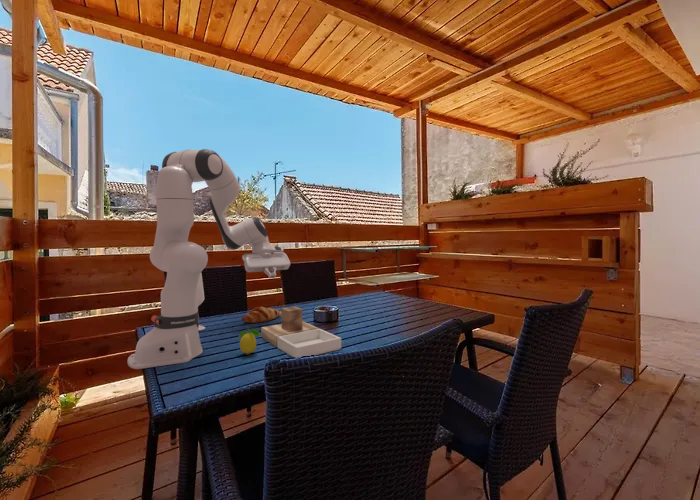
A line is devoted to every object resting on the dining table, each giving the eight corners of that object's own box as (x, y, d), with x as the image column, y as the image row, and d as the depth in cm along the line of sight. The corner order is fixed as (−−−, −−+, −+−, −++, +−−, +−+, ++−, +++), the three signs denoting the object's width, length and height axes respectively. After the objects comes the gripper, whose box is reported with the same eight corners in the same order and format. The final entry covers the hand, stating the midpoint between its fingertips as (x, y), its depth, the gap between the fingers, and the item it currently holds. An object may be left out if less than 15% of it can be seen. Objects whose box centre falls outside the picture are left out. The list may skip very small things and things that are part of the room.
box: (296, 359, 115) (296, 347, 115) (277, 347, 128) (277, 336, 127) (341, 348, 126) (341, 338, 126) (319, 338, 138) (319, 328, 138)
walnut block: (288, 331, 133) (288, 311, 133) (281, 328, 138) (281, 308, 138) (302, 329, 137) (302, 309, 136) (295, 325, 142) (295, 306, 141)
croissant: (277, 322, 176) (273, 307, 179) (288, 315, 170) (283, 300, 172) (239, 329, 161) (235, 313, 163) (249, 323, 155) (245, 306, 157)
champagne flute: (184, 329, 150) (183, 274, 149) (198, 325, 156) (196, 272, 155) (195, 331, 147) (194, 275, 146) (208, 327, 153) (207, 273, 152)
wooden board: (276, 346, 128) (276, 335, 128) (261, 337, 140) (261, 327, 139) (318, 337, 139) (318, 327, 139) (301, 329, 150) (301, 320, 150)
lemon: (261, 355, 120) (260, 326, 119) (244, 359, 116) (244, 329, 115) (253, 350, 125) (252, 322, 124) (236, 353, 121) (236, 325, 120)
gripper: (242, 249, 150) (251, 274, 143) (286, 247, 162) (296, 270, 155) (239, 258, 154) (247, 283, 147) (281, 256, 166) (291, 279, 159)
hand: (272, 276), depth 151 cm, fingers closed
